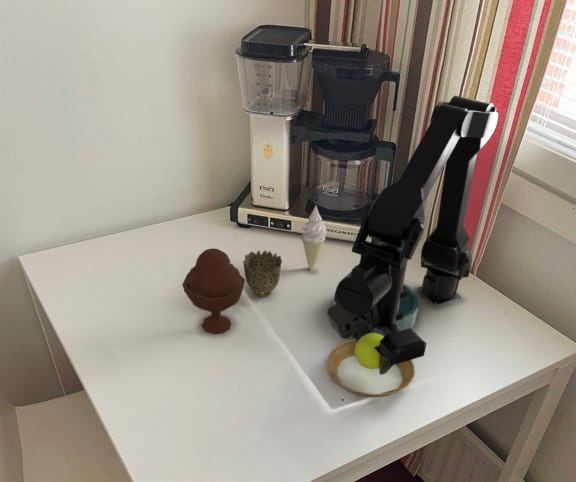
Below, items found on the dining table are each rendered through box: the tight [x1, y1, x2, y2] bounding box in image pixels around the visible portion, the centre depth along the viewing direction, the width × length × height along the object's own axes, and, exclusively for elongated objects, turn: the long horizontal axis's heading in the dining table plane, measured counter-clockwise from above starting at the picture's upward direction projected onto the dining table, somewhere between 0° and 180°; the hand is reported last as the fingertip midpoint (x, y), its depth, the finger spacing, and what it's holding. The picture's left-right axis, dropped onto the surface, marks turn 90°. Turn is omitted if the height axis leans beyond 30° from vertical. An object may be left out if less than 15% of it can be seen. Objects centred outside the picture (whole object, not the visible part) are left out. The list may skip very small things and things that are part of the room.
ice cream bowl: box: [181, 247, 246, 335], centre depth 110 cm, size 11×11×15 cm
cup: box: [242, 250, 283, 298], centre depth 120 cm, size 8×7×8 cm
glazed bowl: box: [333, 282, 420, 336], centre depth 117 cm, size 16×16×4 cm
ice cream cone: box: [300, 205, 327, 271], centre depth 125 cm, size 5×5×15 cm
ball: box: [354, 333, 384, 370], centre depth 101 cm, size 6×6×6 cm
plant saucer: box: [326, 339, 416, 398], centre depth 104 cm, size 15×15×3 cm
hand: (371, 360), depth 103 cm, fingers open, 7 cm apart
